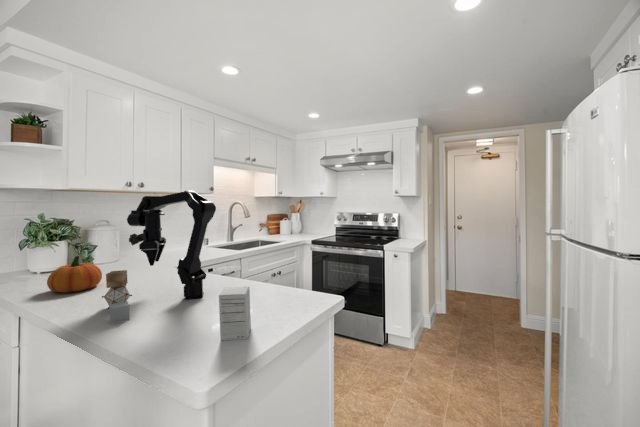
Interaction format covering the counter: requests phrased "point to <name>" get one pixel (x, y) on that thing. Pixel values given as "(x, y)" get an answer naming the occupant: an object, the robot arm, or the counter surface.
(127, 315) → the grey block
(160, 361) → the counter surface
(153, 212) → the robot arm
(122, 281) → the brown metallic block
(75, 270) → the pumpkin
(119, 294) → the game die
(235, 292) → the supplement box
